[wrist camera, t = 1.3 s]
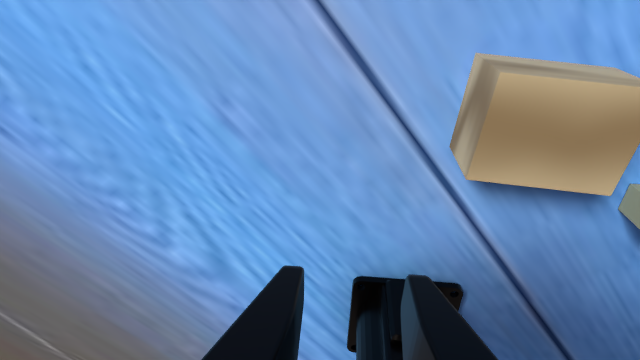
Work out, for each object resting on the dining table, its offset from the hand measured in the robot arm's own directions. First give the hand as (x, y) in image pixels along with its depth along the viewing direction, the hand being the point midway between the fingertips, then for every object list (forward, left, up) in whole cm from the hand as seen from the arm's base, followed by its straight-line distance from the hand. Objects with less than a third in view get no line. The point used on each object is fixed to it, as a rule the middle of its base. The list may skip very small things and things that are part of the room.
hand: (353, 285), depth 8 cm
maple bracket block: (0, -8, -12) cm, 15 cm away
